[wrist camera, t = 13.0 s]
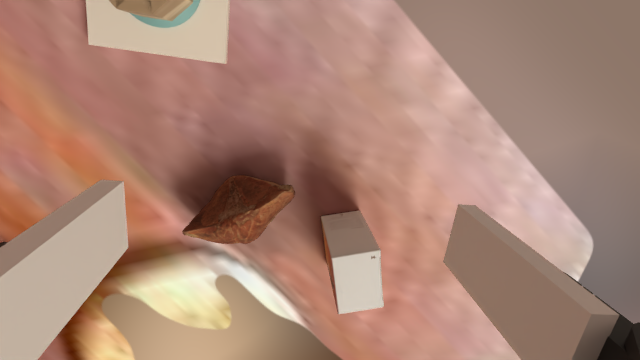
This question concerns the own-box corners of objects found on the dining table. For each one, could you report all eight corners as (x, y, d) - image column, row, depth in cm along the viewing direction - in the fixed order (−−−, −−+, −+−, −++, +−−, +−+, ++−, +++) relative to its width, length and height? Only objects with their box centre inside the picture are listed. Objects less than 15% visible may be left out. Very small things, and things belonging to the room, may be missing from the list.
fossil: (180, 250, 43) (191, 253, 34) (176, 184, 44) (186, 169, 35) (277, 238, 49) (307, 237, 40) (271, 179, 50) (300, 166, 41)
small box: (320, 214, 47) (330, 256, 37) (360, 209, 47) (381, 248, 38) (326, 265, 50) (337, 316, 40) (364, 259, 50) (384, 308, 40)
